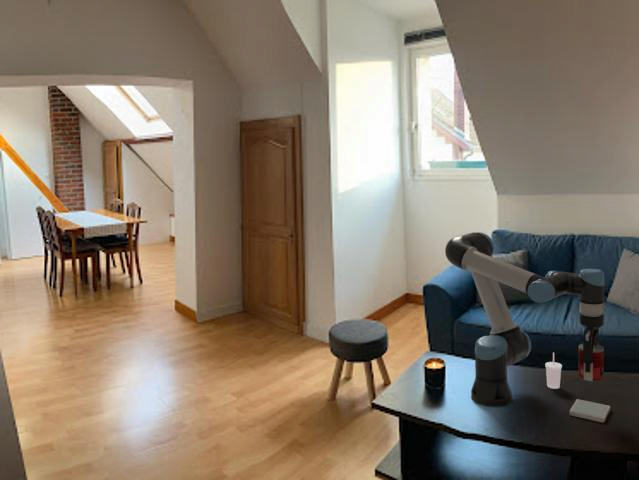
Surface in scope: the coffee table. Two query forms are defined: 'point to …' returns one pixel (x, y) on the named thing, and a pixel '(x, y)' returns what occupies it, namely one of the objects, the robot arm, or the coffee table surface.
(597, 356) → the canned food
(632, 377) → the coffee table surface
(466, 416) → the coffee table surface
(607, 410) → the tray
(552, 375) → the beverage cup
